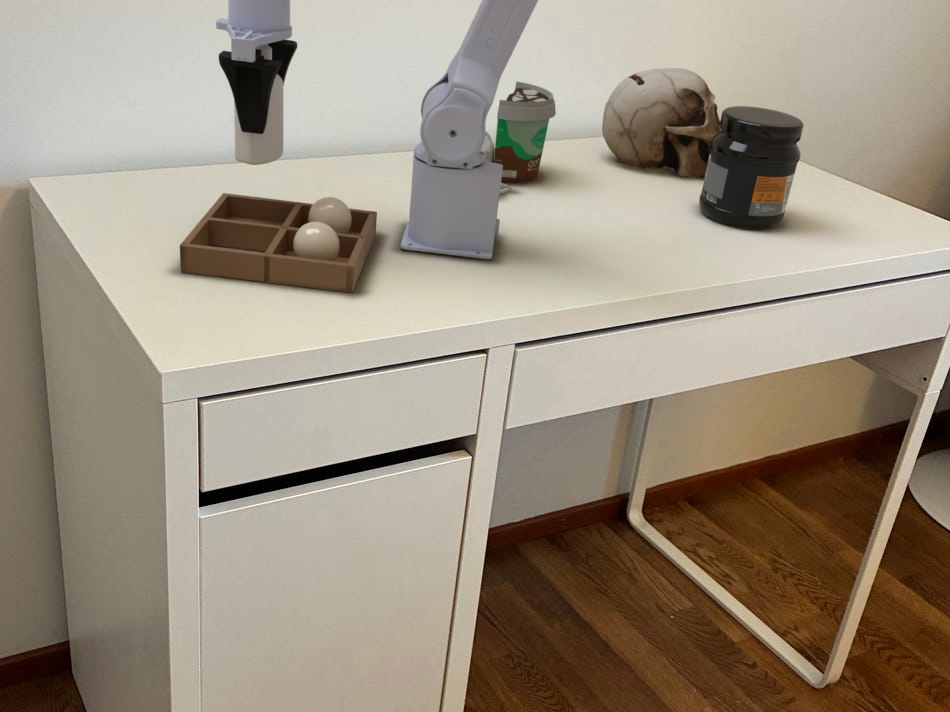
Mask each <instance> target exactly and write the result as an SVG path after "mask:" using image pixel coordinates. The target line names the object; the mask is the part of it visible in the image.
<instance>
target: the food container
mask: <svg viewBox="0 0 950 712" xmlns="http://www.w3.org/2000/svg"><path fill="white" fill-rule="evenodd" d="M556 112H557V111H556V101H555V99H554V94H553V93H552V91H550V90H548V89H546V88H544V87H541V86H539V85H536V84H531V83H527V82H522V81H515V88H514V91H513V92H512V93H510V94H508V96H507V97H506V99H505V100H504V99H499V102H498V109H497V116H496V119H497V124H496V132H495V133H496V134H495V143H494V147H495V153H494V163H497V164H501V165H503V169H502V178H501V183H503V184H509V185H514V184H515V185H516V184H517V185H518V184H527V183H532V182H534V181H536V180H537V179H538V177H539V176H538V175H539V171H540V167H541V166H540V165H541V162H542V157H543V152H544V147H545V143H546V137H547V133H548V127H549V124H550V123H549V122H550V119H552V118H554V117H555V116H556V114H557V113H556Z"/></svg>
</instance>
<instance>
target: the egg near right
mask: <svg viewBox="0 0 950 712" xmlns="http://www.w3.org/2000/svg"><path fill="white" fill-rule="evenodd" d="M293 249H294V252H295V255H296V257H301V258H309V259H318V260H326V261H335V260H336V258H337V257H338V254H339V250H340V242H339V238H338V236H337V234H336V232H335V231H334V230H333V229H332V228H331V227H330V226H329V225H327V224H325V223H322V222H309V223H307V224H305V225H303V226H302V227H300V228H299V230H298V231H297V232H296V234H295V237H294V240H293Z"/></svg>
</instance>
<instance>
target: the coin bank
mask: <svg viewBox="0 0 950 712" xmlns="http://www.w3.org/2000/svg"><path fill="white" fill-rule="evenodd" d="M715 99H716V95H715V94H714V93H713V92H712V91H711V90H710V87H709V86H708V84H707V82H706V80H705V79H704V78H702V76H700V75H699V74H698V73H696V72H694V71H692V70H689V69H686V68H678V67H668V68H652V69H646V70H643V71H638V72H635V73H633V74H631V75H628V76H626V77H625V78H624V79H622V80H621V81H620V82H619V83H618V84H617V85H616V87H615V88H614V89H613V91H612V92H611V94H610V96H609V97H608V99H607V100H606V103H605V106H604V109H603V115H602V125H601V132H602V136H603V139H604V141H605V143H606V145H607V147H608V149H609V150H610V151H611V153H612V154H613V155H615V158H616V159H617V161H619V162H620V163H623V164H625V165H629V166H630V167H636V168H637V169H663V168H666V167H667V168H669V169H672V170H674V171H675V172H676V175H678V176H680V177H684V178H687V177H690V176H694V177H700V178H705V174H706V169H707V165H708V160H709V156H710V151H711V141H712V138H713V137H714V136H715V135H716V134H717V133H718V132H719V131H721V129H720V127H719V125H720V120H721V118H720V117H719V113H718V104H717V103H715Z"/></svg>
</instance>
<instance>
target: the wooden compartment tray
mask: <svg viewBox="0 0 950 712" xmlns="http://www.w3.org/2000/svg"><path fill="white" fill-rule="evenodd" d="M313 204H314V203H308V202H300V201H291V200H284V199H276V198H269V197H268V198H267V197H259V196H251V195H243V194H234V193H226V192H223V193H222V194H221V195H220V196H219V197H218V199H217V200H216V201H215V202H214V203H213V205H212V206H211V207H210V208H209V209H208V211H207V212H206V213H205V214H204V215H203V217H202V218H201V219H200V220H199V222H198V223H197V224H196V225H195V226H194V227H193V229H192V230H191V231H190V232H189V233H188V235H186V237H185V238H184V239H183V241H182V242H181V243H180V244H179V259H180V260H179V261H180V264H179V265H180V273H186V274H195V275H203V276H212V277H219V278H227V279H236V280H244V281H253V282H261V283H268V284H275V285H276V284H277V285H286V286H292V287H301V288H309V289H316V290H317V289H318V290H326V291H336V292H342V293H350V294H353V293H354V290H355V288H356V285H357V283H358V280H359V277H360V276H361V273H362V271H363V268H364V266H365V263H366V260H367V258H368V256H369V253H370V251H371V249H372V246H373V243H374V241H375V239H376V236H377V217H378V212H377V211H373V210H365V209H357V208H350V207H348V208H349V210H350V212H351V215H352V225H351V229H350V231H349V232H348V234H343V233H336V234H337V236H338V238H339V242H340V250H339V254H338V257H337V258H336V260H335V261H326V260H318V259H309V258H301V257H296V255H295V252H294V249H293V240H294V237H295V234H296V232H297V231H298V230H299V228H300V227H302V226H303V225H305V224H307V223H308V215H309V211H310V209H311V207H312V205H313Z"/></svg>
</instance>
